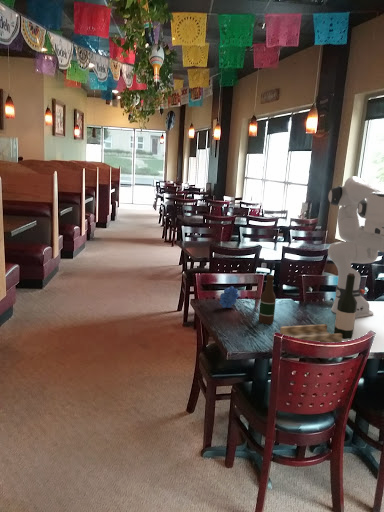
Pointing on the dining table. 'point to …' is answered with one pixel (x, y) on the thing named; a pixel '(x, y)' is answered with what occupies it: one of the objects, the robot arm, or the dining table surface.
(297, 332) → the cradle
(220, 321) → the dining table surface
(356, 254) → the robot arm
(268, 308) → the beer bottle
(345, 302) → the wine bottle
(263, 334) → the dining table surface
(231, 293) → the grapes
